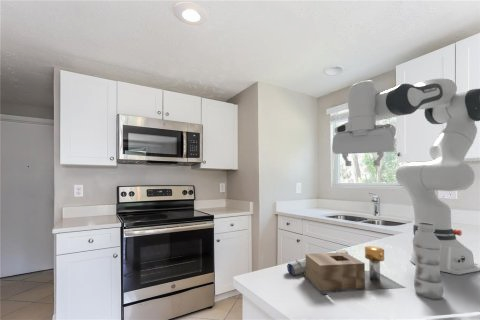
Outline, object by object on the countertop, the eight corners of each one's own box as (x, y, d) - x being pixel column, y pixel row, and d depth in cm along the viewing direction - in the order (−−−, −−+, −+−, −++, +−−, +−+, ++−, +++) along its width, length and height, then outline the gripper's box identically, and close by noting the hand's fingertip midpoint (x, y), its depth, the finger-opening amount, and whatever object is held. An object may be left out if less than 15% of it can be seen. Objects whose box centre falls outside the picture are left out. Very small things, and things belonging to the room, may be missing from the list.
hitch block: (375, 272, 86) (374, 249, 86) (405, 289, 73) (404, 263, 73) (303, 276, 82) (303, 252, 82) (322, 295, 69) (322, 267, 69)
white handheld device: (285, 260, 85) (343, 244, 94) (287, 280, 85) (345, 262, 94) (293, 266, 80) (353, 248, 89) (295, 286, 80) (355, 267, 89)
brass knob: (376, 275, 82) (376, 245, 82) (388, 282, 76) (388, 251, 77) (361, 276, 81) (361, 246, 81) (372, 283, 75) (372, 251, 76)
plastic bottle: (434, 305, 64) (432, 227, 65) (408, 293, 71) (406, 222, 72) (449, 300, 67) (446, 225, 68) (422, 289, 73) (420, 221, 74)
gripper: (397, 124, 82) (398, 165, 82) (337, 131, 97) (337, 166, 96) (392, 121, 78) (393, 165, 77) (330, 128, 92) (330, 165, 92)
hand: (362, 165), depth 87 cm, fingers open, 8 cm apart
